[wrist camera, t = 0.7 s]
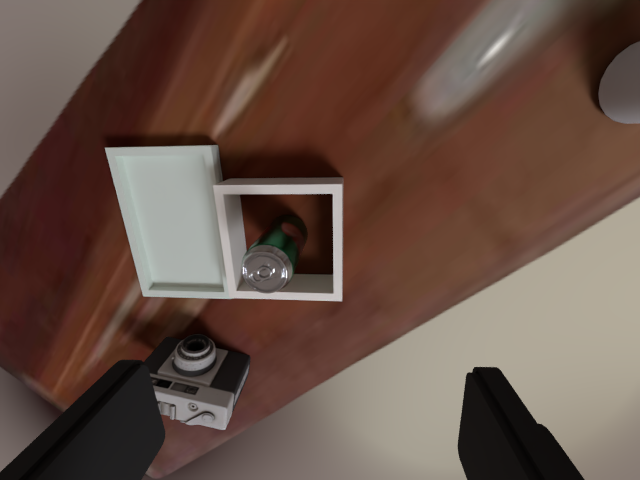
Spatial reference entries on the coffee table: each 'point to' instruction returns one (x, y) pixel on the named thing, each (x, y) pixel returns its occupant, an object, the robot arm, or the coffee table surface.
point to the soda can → (275, 255)
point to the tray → (172, 218)
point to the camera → (197, 380)
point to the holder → (236, 246)
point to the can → (622, 86)
